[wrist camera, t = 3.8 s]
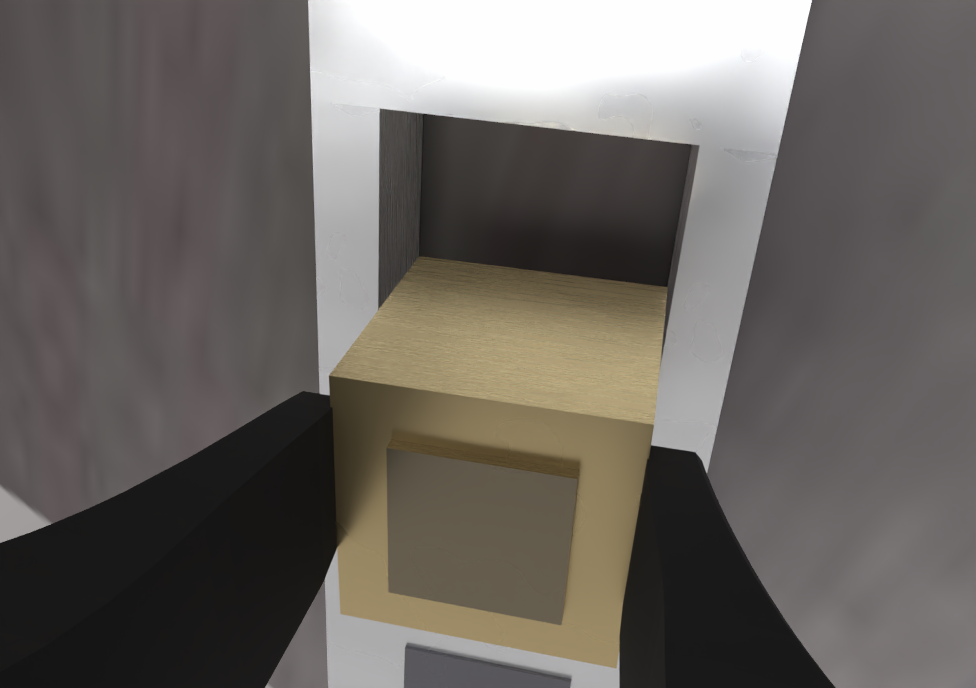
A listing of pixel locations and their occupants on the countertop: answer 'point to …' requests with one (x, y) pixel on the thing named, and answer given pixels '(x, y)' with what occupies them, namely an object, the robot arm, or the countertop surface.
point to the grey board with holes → (560, 105)
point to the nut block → (496, 455)
